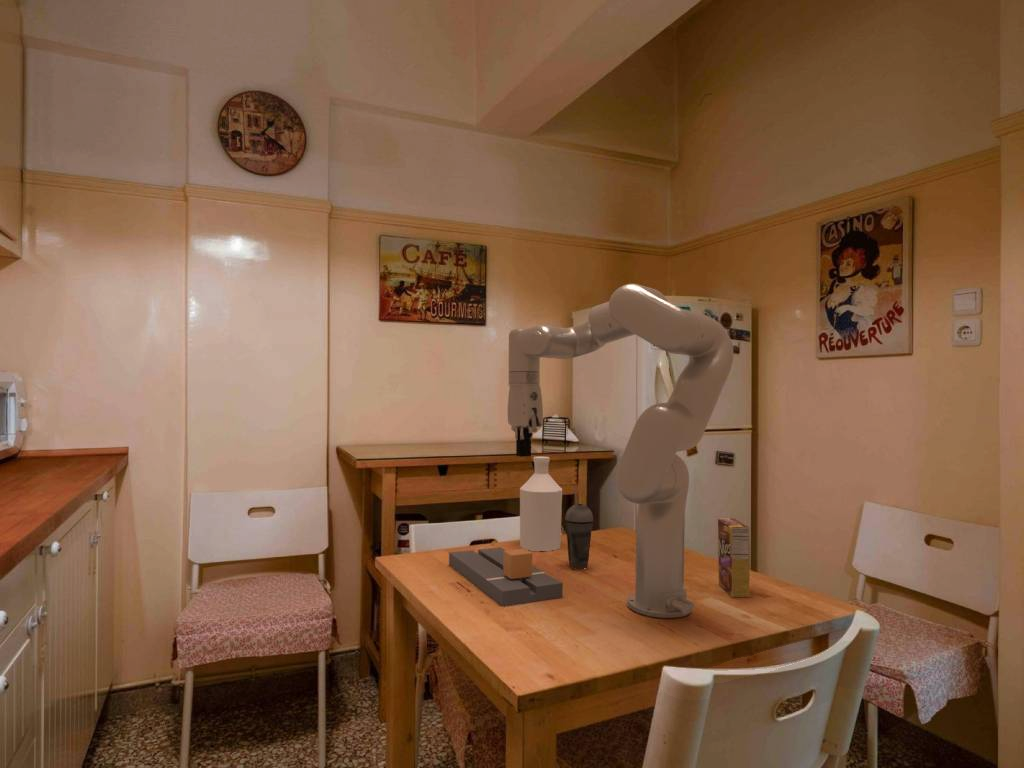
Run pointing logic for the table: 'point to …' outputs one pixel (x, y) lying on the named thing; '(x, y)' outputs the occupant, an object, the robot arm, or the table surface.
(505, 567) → the slider tab
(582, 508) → the beverage cup
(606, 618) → the table surface
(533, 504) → the bottle
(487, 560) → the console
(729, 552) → the candy box
